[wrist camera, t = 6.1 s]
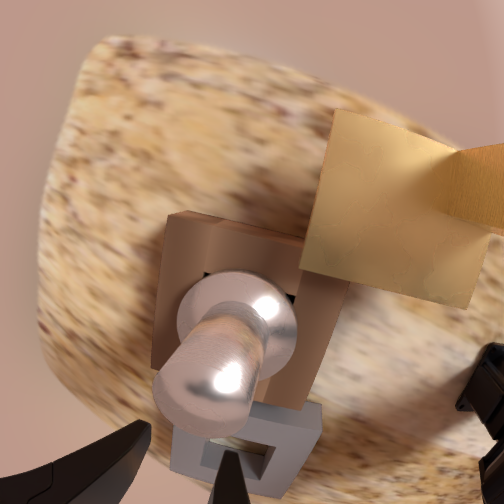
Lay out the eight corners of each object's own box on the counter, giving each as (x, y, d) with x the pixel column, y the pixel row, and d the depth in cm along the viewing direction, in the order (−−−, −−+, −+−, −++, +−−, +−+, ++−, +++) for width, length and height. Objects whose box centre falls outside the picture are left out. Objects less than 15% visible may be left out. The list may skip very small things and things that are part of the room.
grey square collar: (321, 404, 20) (322, 431, 17) (284, 475, 23) (281, 499, 20) (190, 371, 21) (176, 394, 18) (180, 448, 24) (169, 470, 21)
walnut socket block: (347, 249, 18) (356, 261, 15) (301, 384, 20) (300, 411, 17) (187, 210, 19) (167, 215, 16) (167, 346, 21) (150, 367, 18)
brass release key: (493, 173, 11) (571, 175, 6) (458, 303, 13) (518, 358, 7) (333, 113, 12) (356, 64, 6) (298, 262, 14) (297, 316, 8)
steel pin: (310, 269, 18) (314, 353, 9) (285, 358, 20) (266, 474, 10) (208, 245, 19) (119, 299, 9) (194, 334, 20) (123, 428, 11)
